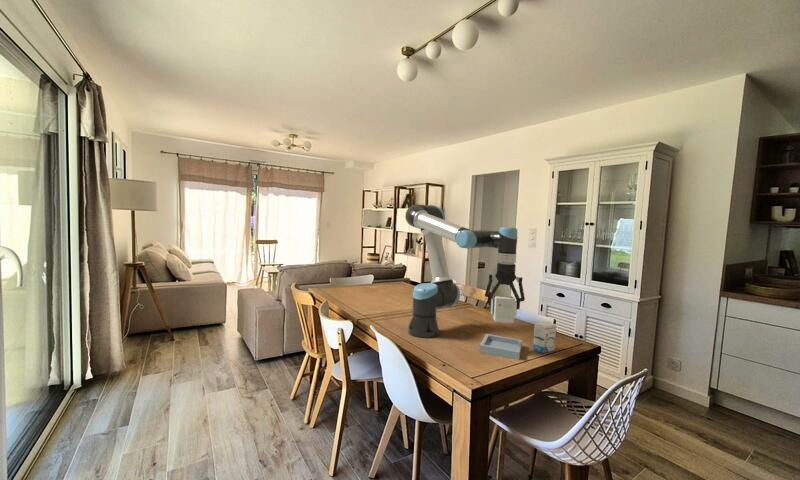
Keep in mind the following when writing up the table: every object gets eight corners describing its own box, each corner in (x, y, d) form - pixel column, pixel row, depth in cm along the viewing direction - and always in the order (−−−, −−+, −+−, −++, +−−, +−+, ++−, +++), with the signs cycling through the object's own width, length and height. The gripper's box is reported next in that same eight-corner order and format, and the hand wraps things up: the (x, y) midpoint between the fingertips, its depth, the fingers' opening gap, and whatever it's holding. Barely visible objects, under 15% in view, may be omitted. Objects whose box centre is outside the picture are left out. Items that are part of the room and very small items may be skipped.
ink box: (541, 353, 144) (543, 326, 144) (532, 349, 149) (534, 323, 148) (555, 350, 148) (557, 324, 147) (545, 346, 153) (547, 320, 152)
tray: (479, 351, 143) (479, 345, 143) (485, 340, 158) (486, 333, 157) (518, 359, 137) (519, 352, 136) (521, 346, 151) (522, 340, 151)
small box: (511, 319, 148) (512, 296, 148) (513, 323, 143) (515, 299, 142) (492, 318, 149) (493, 294, 149) (494, 322, 144) (495, 297, 143)
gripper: (479, 261, 146) (476, 313, 147) (533, 266, 137) (529, 321, 138) (482, 260, 152) (479, 309, 154) (534, 264, 144) (530, 316, 145)
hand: (503, 314), depth 146 cm, fingers closed on small box, 9 cm apart
